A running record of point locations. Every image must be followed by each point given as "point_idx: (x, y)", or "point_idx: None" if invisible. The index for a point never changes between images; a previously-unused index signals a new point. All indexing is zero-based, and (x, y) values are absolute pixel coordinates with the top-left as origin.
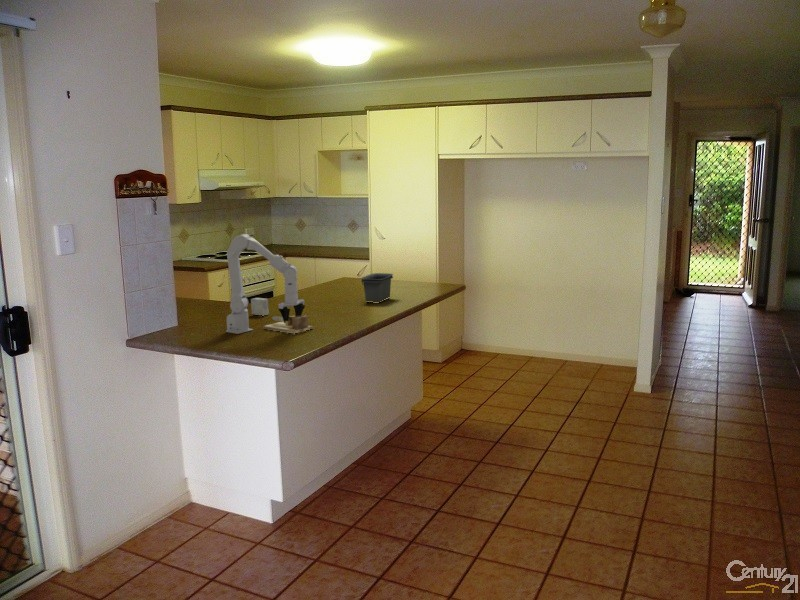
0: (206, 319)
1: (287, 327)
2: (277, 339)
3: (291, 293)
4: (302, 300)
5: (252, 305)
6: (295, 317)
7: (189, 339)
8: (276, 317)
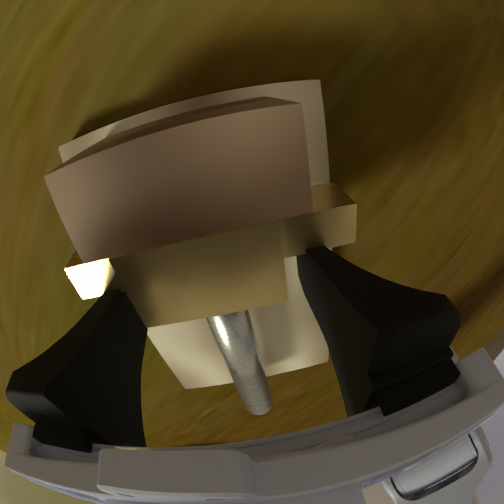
0: None
1: None
2: (459, 80)
3: None
4: (24, 473)
5: None
6: (255, 201)
7: (496, 325)
8: (265, 394)
